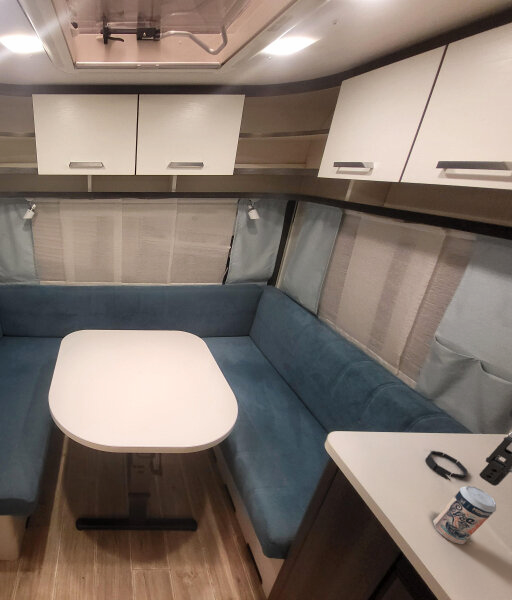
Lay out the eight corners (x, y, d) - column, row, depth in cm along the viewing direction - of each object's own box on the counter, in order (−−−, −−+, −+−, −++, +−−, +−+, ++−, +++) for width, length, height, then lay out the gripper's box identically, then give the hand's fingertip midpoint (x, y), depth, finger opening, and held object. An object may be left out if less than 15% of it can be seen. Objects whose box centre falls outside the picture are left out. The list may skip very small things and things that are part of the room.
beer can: (432, 532, 63) (464, 495, 58) (431, 514, 67) (461, 478, 61) (465, 551, 60) (501, 514, 55) (462, 531, 64) (497, 495, 59)
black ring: (448, 459, 80) (452, 453, 79) (470, 484, 74) (475, 478, 73) (418, 454, 81) (422, 448, 80) (438, 478, 75) (443, 472, 74)
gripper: (579, 436, 43) (509, 506, 50) (619, 414, 48) (550, 481, 55) (504, 399, 50) (451, 466, 57) (546, 383, 54) (492, 447, 61)
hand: (500, 474), depth 56 cm, fingers open, 8 cm apart
